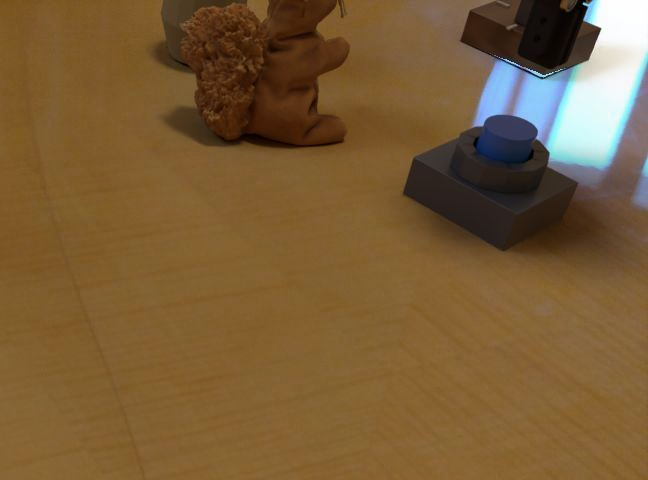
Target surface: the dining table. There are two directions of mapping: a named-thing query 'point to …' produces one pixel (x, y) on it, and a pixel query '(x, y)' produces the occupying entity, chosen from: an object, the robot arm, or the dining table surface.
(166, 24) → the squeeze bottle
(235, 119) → the stuffed squirrel
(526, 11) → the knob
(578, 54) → the panel
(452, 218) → the push button base
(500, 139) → the blue push button
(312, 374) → the dining table surface
